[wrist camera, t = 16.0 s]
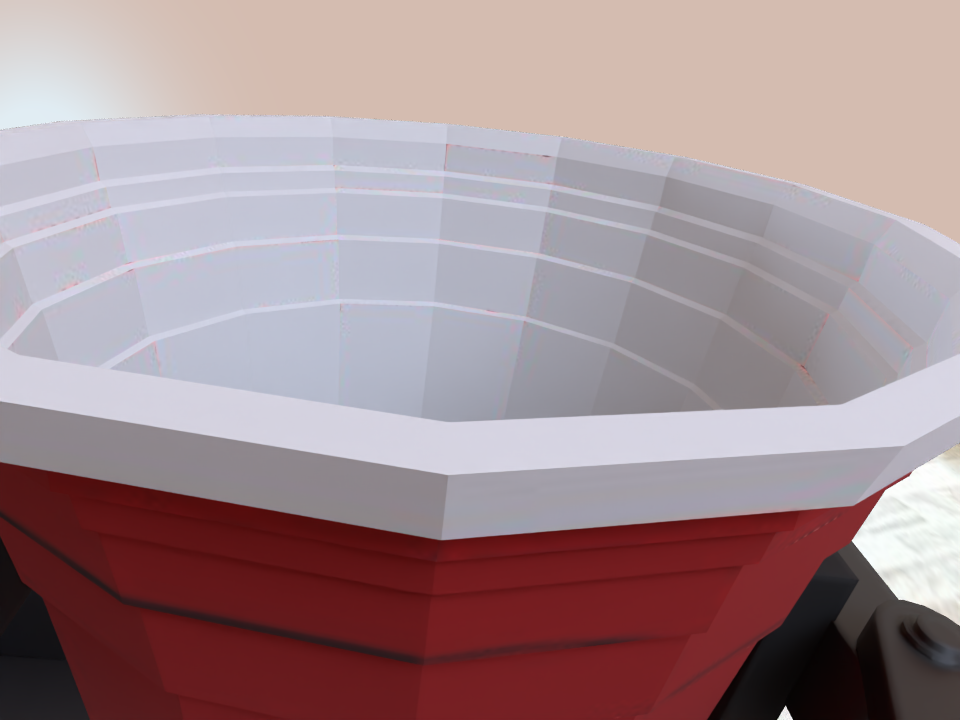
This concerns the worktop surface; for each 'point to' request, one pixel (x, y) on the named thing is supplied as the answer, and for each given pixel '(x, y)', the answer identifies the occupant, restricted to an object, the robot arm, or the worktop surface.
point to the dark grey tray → (36, 669)
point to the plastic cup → (440, 412)
